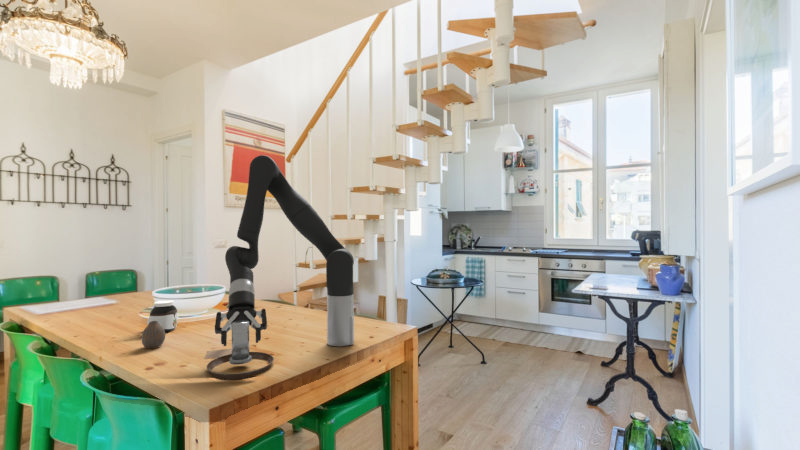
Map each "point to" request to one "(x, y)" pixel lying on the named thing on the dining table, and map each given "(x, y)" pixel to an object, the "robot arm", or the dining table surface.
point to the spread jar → (164, 315)
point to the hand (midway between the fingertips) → (241, 343)
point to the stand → (217, 353)
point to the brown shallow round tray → (238, 375)
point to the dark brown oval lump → (153, 335)
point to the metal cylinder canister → (240, 343)
